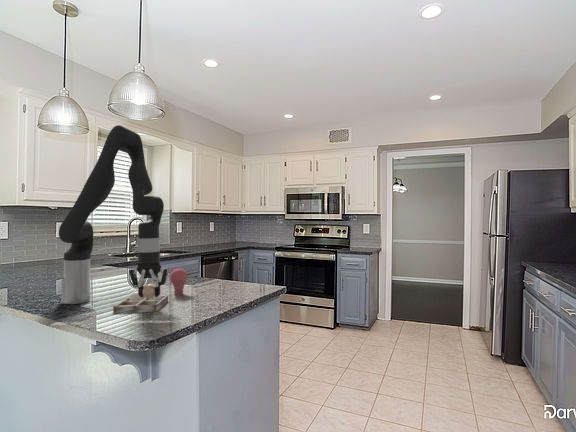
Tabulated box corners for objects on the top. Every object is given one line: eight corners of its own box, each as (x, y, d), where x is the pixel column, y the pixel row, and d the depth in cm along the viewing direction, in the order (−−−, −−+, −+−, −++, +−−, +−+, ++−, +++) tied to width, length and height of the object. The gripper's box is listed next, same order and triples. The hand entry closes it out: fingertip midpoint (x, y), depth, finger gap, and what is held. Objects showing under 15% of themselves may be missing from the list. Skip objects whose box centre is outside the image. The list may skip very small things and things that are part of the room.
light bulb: (182, 298, 143) (182, 270, 142) (166, 297, 144) (166, 269, 144) (190, 294, 150) (190, 267, 149) (175, 294, 151) (175, 267, 151)
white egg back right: (146, 305, 129) (146, 293, 129) (150, 302, 134) (150, 290, 134) (159, 305, 129) (159, 292, 129) (163, 302, 134) (162, 289, 134)
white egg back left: (127, 306, 128) (127, 293, 128) (132, 302, 133) (132, 290, 133) (140, 305, 129) (140, 293, 129) (144, 302, 133) (144, 290, 133)
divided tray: (113, 314, 120) (113, 306, 120) (129, 303, 135) (129, 296, 134) (156, 313, 121) (156, 305, 121) (167, 303, 136) (167, 295, 136)
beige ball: (144, 296, 127) (144, 283, 127) (158, 295, 127) (158, 283, 127) (140, 299, 122) (140, 286, 122) (154, 299, 122) (154, 285, 122)
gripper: (171, 249, 129) (172, 293, 129) (132, 249, 128) (133, 294, 128) (166, 251, 121) (166, 298, 121) (124, 251, 120) (125, 299, 120)
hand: (149, 296), depth 125 cm, fingers closed on beige ball, 4 cm apart
